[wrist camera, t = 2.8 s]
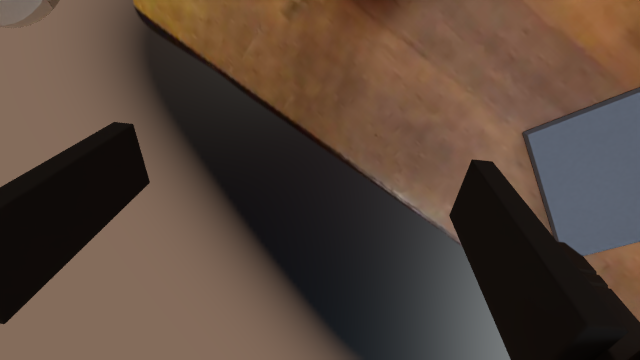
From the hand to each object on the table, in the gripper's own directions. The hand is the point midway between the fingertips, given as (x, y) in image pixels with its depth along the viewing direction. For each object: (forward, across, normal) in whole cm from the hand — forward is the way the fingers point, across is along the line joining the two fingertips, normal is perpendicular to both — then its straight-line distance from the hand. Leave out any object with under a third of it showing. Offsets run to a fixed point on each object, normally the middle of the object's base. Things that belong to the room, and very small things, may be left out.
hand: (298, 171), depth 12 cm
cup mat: (+15, +28, -6) cm, 32 cm away
